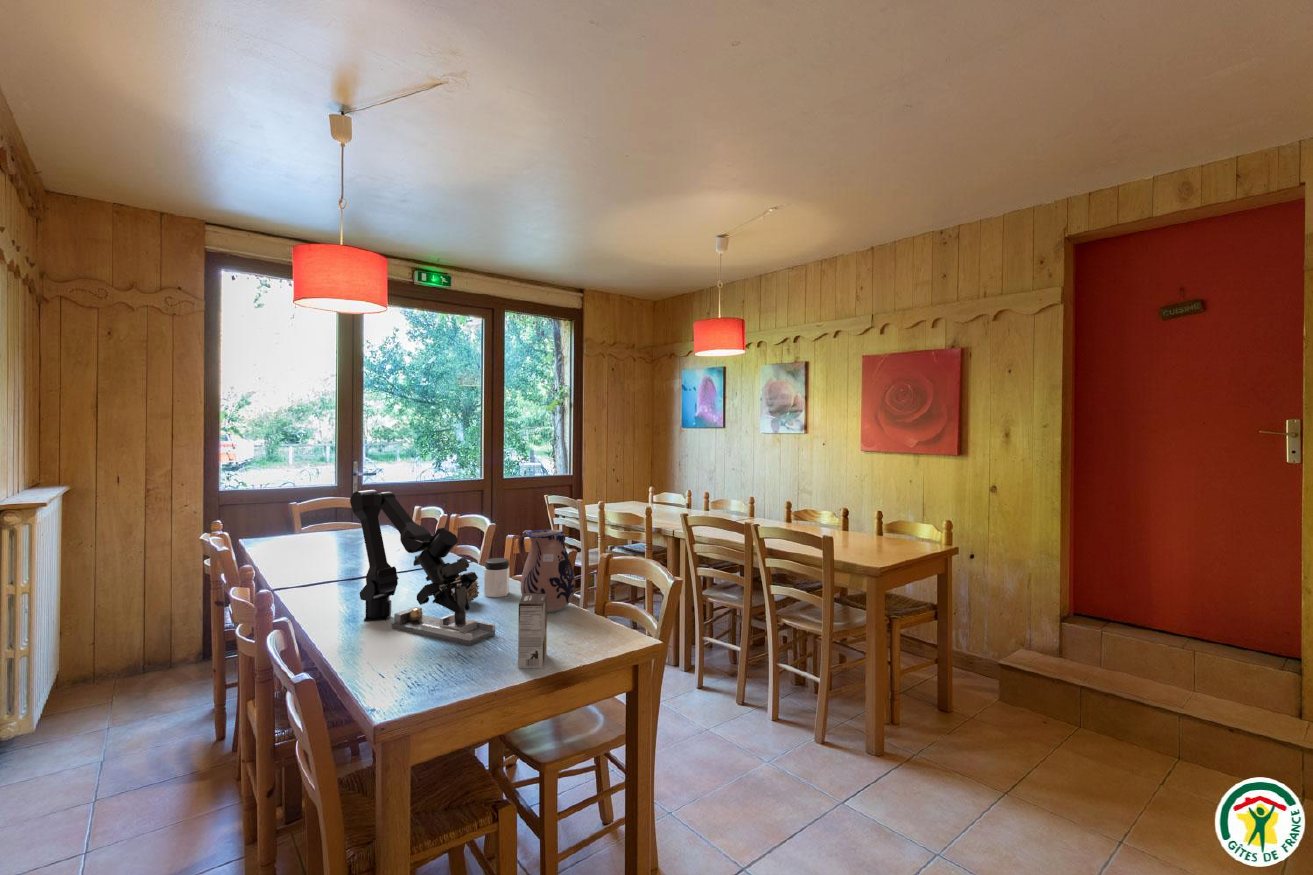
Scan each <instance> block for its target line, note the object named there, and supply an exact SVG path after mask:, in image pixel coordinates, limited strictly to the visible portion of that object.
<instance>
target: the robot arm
mask: <svg viewBox="0 0 1313 875" xmlns="http://www.w3.org/2000/svg"><path fill="white" fill-rule="evenodd" d="M349 503H350V506H351V509H352V512H353V514H354V516H356V517H357V519H358V520H359V522H360V523H361V529H362V533H363V534H362V535H363V538H364V539H363V540H364V545H365V549H366V555H367V560H368V565H369V566H368V567H369V568H368V570H367V573H366V576H365V583H366V584H364V587H363V588H362V589H361V590H360V592H359V598H360V600H361V601H365V617H364V619H363V621H364V622H366V621H367V622H368V621H385V620H388V619H389V617H390V616H391V615H392V600H390V598H391V596H394V595H395V593H396V590H397V586H398V585H399V583H398V580H399V577H398V573H397V568H396V566H392V565H390V564H389V563H388V560H387V555H386V554H387V553H386V550H385V545H384V541H383V540H384V539H383V536H382V530H381V523H380V519H379V516H380V513H381V511H383V513H384V514H385V516H386V517H387V519H389V521H390V522H391V524H392V525H393V526H394V528H396V530H397V531H398V533H399V535H400V536H399V537H400V539H399V541H400V543H401V545H402V546H403V549H404V550H405V551H406V552H407V553H408V554H416V553H419V554H418V555H415V556H414V561H413V566H414V567H416V566H420V567H421V568H422V570H423V571H424V573H425V574H426V577H425V580H426V581H427V582H428V581H429V582H430V581H431V583H428V584H425V585H424V586H423V587H422V588H421V590H420V591H419V592H418V593H417V594H416V601H417V603H418V604H419V605H420V606H421V605H425V604H427V603H428V602H430V597H431V596H433V598H434V599H433V600H432V604H437V605H440V606H442V607H443V608H445V609H447V610H450V611H451V612H454V613H457V614H459V613H460V612H461V611H460V609H459V607H458V605H457V603H456V602H455V600H454V599H455V587H458V586H465V587H466V590H467V589H469V588H470V587H471V586H472V584H473V583H474V582H475V581H478V579H479V576H478V575H477V573H476V572H475V571H470V572H467V571H468V568H469V567H470V562H469V561H468V559H467V558H466V557H460V558H459V559H457V561H455V562H452V563H450V562H445V561H444V558H445V557H447V556H448V555H449V553H450V552H452V550H454V547H455V546H456V545H457V544H458V542H459V540H458V537H457V535H456V534H455V533H453V532H452V531H449V530H446V529H445V527H439V528H437V529H436V531H435V533H434V534H432V533H431V532H430V531H429V530H427V529H426V528H425V527H424V526H422V525H420V524H418V523H416V522H415V521H414V520H413V519H412V517H411V516H410V514H409V513H408V512H407V511H406V510H405V509H404V507H403V506H402V505H401V503H400V502H399V501H398V499H397V497H396V495H395V494H394V492H391V491H384V492H379V491H377V490H375V489H369V490H358V491H354V492H353V493H352V495H351V497H350V498H349ZM463 572H465V573H463ZM461 574H462V576H461V577H460V578H459V580H457V581H456V580H455V579H456V578H458V577H459V576H460V575H461ZM451 590H452V591H453V593H454V594H453V595H451ZM469 603H470V602H468V599H467V594H466V612H467V611H468V610H470V604H469Z"/></svg>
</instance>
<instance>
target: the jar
mask: <svg viewBox="0 0 1313 875" xmlns="http://www.w3.org/2000/svg"><path fill="white" fill-rule="evenodd" d="M484 566H485V567H484V571H483V572H484V573H483V574H484V578H483V579H484V585H483V586H484V588H483V589H484V590H483V596H484V597H490V598H494V597H495V598H502V597H506V596H508V595H509V593H510V560H509V558H504V557H494V558H487V559H486V560H485V561H484Z"/></svg>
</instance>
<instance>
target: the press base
mask: <svg viewBox="0 0 1313 875" xmlns="http://www.w3.org/2000/svg"><path fill="white" fill-rule="evenodd" d="M448 615H449V614H447V615H446V616H448ZM393 617H394V622H391V624H390V625H391V628H392V630H396V629H397V631H401V632H405V633H409V632H410V633H409V634H414V635H419V636H423V637H428V638H432V639H435V640H441V641H444V642H445V641H446V642H450V643H452V644H453V643H454V644H457V645H458V644H459V645H463V646H467V647H471V646H473V645H475V644H478V643H480V642H482V641H485V640H487V639H490V638H492V637H494V636H495V635H496V624H494V623H489V622H485V621H479V620H476V621H477V628H476V629H473V630H471V631H468V632H461V631H456V630H452V629H447V628H442V627H440V618H441V617H435V616H431V615H430V616H429V615H425V614H423V607H419V606H415V607H412V608H409V609H408V608H407V609H405V610H403V611H399V612H396V613H394V614H393ZM391 628H390V629H391Z"/></svg>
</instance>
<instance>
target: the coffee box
mask: <svg viewBox="0 0 1313 875" xmlns="http://www.w3.org/2000/svg"><path fill="white" fill-rule="evenodd" d="M547 613H548V612H547V594H535V593H527V594H523V595H522V594H521V597H520V600H519V602H518V626H517V627H518V628H517V629H518V633H517V634H518V635H517V639H518V640H517V647H518V648H517V669H543V668H544V666H545V662H546V657H547V652H548V650H547V649H548V648H547V647H548V645H547V641H548V640H547V639H548V637H547V634H548V633H547V632H548V630H547V628H548V627H547V625H548V623H547V622H548V621H547V618H548V614H547Z"/></svg>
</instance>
